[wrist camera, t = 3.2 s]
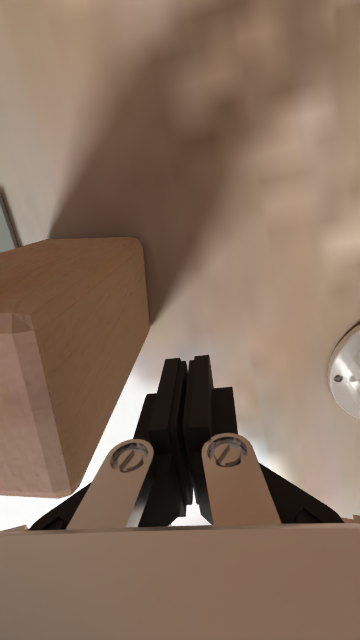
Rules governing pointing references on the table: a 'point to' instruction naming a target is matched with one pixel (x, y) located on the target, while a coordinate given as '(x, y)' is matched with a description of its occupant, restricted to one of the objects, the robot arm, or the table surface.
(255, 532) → the robot arm
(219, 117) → the table surface
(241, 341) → the table surface
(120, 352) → the wooden block
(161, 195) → the table surface
